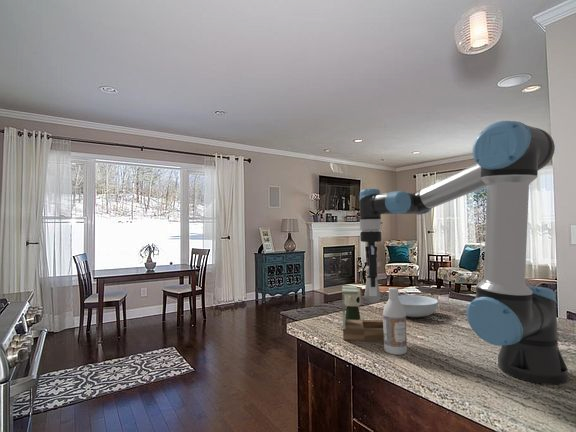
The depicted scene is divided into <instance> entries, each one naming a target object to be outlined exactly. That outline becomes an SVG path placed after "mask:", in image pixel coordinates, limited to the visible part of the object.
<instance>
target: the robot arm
mask: <svg viewBox="0 0 576 432" xmlns="http://www.w3.org/2000/svg"><path fill="white" fill-rule="evenodd" d="M555 147H556V146H555V142H554V140H553V137H552V136H551V135H550V134H549V133H548V132H547V131H546V130H544V129H541V128H538V127H534V126H530V125H527V124H525V123H523V122H521V121H513V120H512V121H511V120H501V121H497V122H494V123H490V124H489V125H488V126H487V127H485V128H484V129H483V130H481V132H480V133H479V134H478V135H477V136H476V138H475V139H474V142H473V145H472V157H473V160H474V161H475V162H476V163H475V164H473V165H470V166H468V167H467V168H466V167H465V168H464V169H462V170H460V171H457V172H456V173H454V174H452V175H449V176H447V177H445V178H443V179H440V180H438V181H437V182H434V183H432V184H430V185H428V186H426V187H424V188H422V189H419V190H418V191H416V192H413V193H412V192H406V191H404V190H393V191H390V192H389V191H388V192H384V193H383V192H382V193H381V191H380V189H379V188H365V189H362V190H360V191H359V198H358V199H359V200H358V202H359V230H360V232H359V233H360V235H359V236H360V242H363V243H366V244H367V246H365V255H366V256H365V257H366V267H367V266H369V276H367V275H366V279H367V278H369V296H377V280H378V272H377V269H378V266H377V265H378V263H377V262H378V261H377V258H378V255H377V252H378V247H377V246H376V242H377V243H379V242H381V241H382V232H381V231H380V230H382V226H381V225H383V221H382V220H381V219H382V215H425V214H427V213H430V211H432V209H433V208H435V207H438V206H440V205H443V204H446V203H449V202H451V201H454V200H456V199H458V198H461V197H463V196H467V195H469V194H471V193H473V192H476V191H479V190H481V189H484V188H486V207H485V208H486V209H485V232H484V233H485V234H484V236H485V237H484V261H483V278H482V279H481V280H480V281H479V282H477V283H476V287H475V288H476V290H475V293H476V294H475V298H474V299H473V300H471V302H469V304H468V306H467V309H466V319H467V323H468V325H469V326H470V328H471V329H472V331H474V333H475V335H476V336H477V337H478V338H480V339H481V340H483V341H484V342H486V343H488V344H491V345H492V346H498V347H500V346H501V347H500V350H499V353H498V355H497V366H498V368H499V369H500V370H501V371H502V372H504V373H505V374H508V375H509V376H512V377H514V378H517V379H520V380H524V381H525V382H526V381H527V382H531V383H535V382H536V384H541V383H543V384H544V385H562V384H565V383H567V382H568V381H569V380H570V379H569V371H568V367H567V364H566V362H565V360H564V357H563V356H562V352H561V351H560V348H559V344H558V343H559V342H558V338H559V337H558V319H557V300H556V293H555V292H554V290H553V289H551V288H549V287H542V286H535V285H534V286H533V285H527V284H526V269H527V267H526V265H527V264H526V263H527V262H526V261H527V242H528V241H527V240H528V239H527V238H528V223H529V222H528V219H529V218H528V217H529V216H528V215H529V195H530V184H531V183H532V182H534V181H535V180H537V178H538V175H539V174H538V172H539V171H540V170H542V169H543V168H545V167H546V166H547V165H548V164H549V163H550V162H551V161H552V158H553V156H554V154H555V150H556V148H555ZM376 277H377V278H376Z"/></svg>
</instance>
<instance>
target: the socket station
mask: <svg viewBox="0 0 576 432" xmlns="http://www.w3.org/2000/svg"><path fill="white" fill-rule="evenodd" d="M357 289H358V287H357V285H342V286H341V296H342V297H341V301H342V302H341V304H342V338H343V339H342V341H351V342H352V341H353V342H354V341H356V342H373V343H374V342H381V343H384V330H383V319H381V320H380V319H379V320H377V319H376V320H375V319H360V320H347V319H345V315H346V305H345V295H358V290H357Z"/></svg>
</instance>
